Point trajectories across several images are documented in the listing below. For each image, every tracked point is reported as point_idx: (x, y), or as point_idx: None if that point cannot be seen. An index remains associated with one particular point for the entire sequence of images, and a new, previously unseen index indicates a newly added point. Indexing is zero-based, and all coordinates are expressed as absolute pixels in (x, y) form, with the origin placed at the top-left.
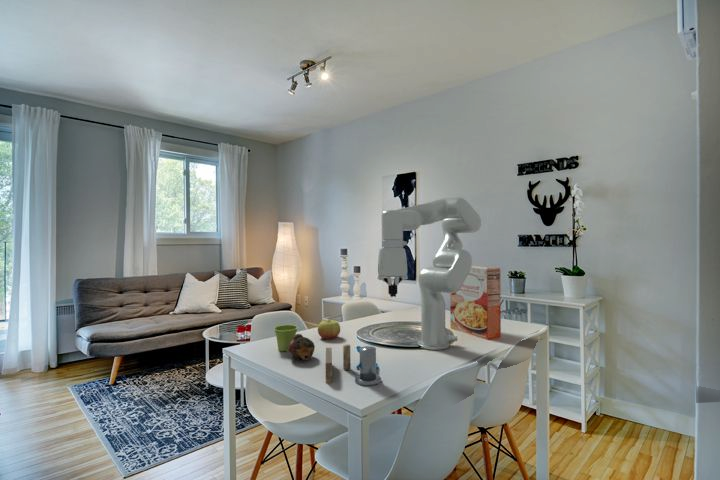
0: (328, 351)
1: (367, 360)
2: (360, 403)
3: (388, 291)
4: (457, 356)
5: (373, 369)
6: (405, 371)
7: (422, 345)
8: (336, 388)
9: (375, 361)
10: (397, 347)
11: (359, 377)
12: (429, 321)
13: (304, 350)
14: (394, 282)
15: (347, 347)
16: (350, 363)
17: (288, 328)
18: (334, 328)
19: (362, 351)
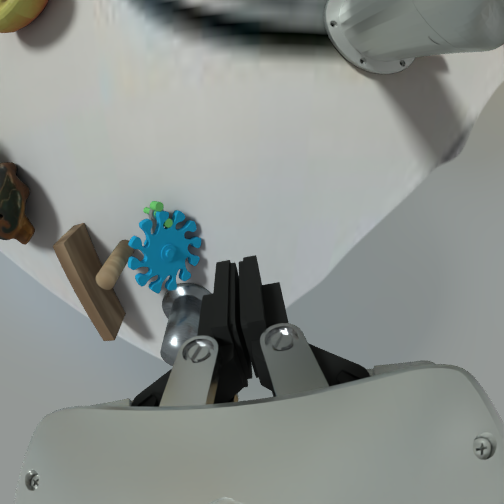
0: (71, 275)
1: None
2: None
3: (202, 305)
4: (419, 133)
5: None
6: (271, 248)
7: (340, 48)
8: (143, 333)
9: None
10: (251, 35)
11: (170, 305)
12: (406, 42)
13: (16, 236)
14: (268, 375)
15: (111, 287)
16: (129, 254)
17: None
18: (25, 11)
19: (172, 364)
